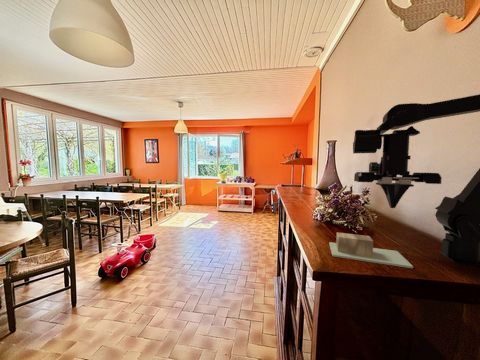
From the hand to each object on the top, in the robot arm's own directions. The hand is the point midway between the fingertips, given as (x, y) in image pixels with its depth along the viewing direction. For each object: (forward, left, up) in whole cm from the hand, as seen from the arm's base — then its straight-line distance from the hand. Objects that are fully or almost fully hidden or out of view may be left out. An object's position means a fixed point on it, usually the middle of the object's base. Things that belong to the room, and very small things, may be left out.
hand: (392, 207), depth 57 cm
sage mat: (+8, +7, -12) cm, 16 cm away
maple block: (+7, +7, -9) cm, 14 cm away
